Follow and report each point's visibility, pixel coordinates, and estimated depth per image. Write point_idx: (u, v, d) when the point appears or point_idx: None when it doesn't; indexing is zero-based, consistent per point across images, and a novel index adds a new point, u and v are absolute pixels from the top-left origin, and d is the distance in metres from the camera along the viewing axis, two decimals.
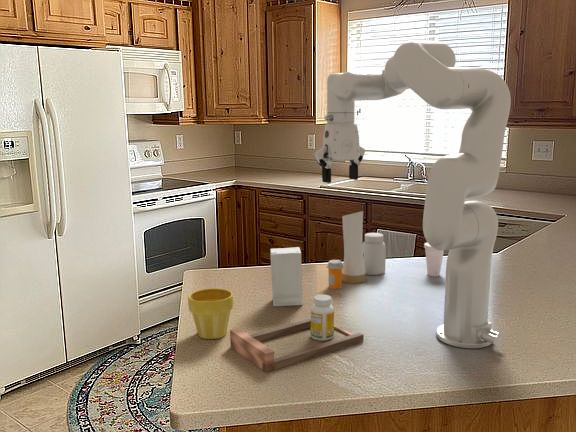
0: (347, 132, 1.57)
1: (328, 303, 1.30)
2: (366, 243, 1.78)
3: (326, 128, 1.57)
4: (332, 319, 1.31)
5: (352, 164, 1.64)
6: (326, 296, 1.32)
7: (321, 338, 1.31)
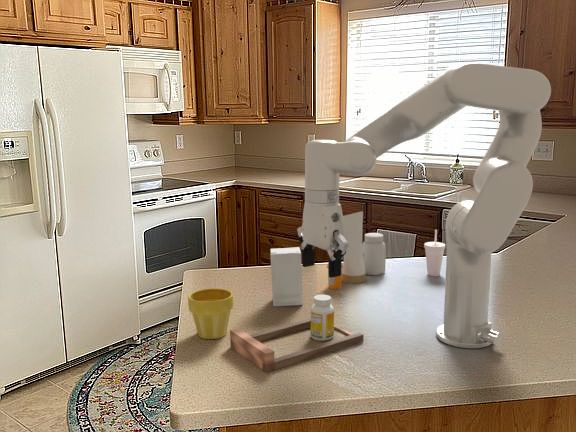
0: None
1: (328, 303, 1.30)
2: (366, 243, 1.78)
3: (332, 210, 1.23)
4: (332, 319, 1.31)
5: (308, 248, 1.33)
6: (326, 296, 1.32)
7: (321, 338, 1.31)
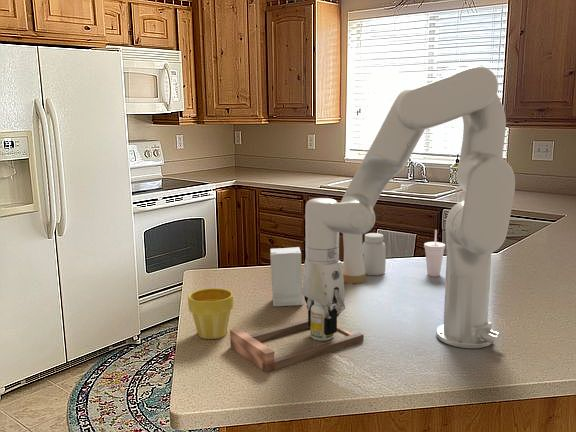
0: None
1: None
2: (366, 243, 1.78)
3: (332, 268, 1.26)
4: None
5: None
6: None
7: (321, 338, 1.31)
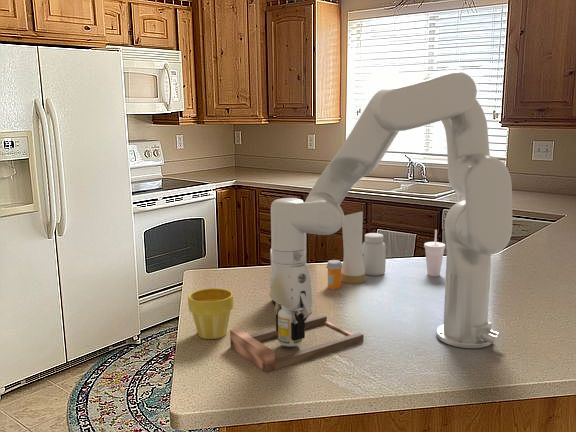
0: None
1: None
2: (366, 243, 1.78)
3: (299, 271, 1.21)
4: None
5: None
6: None
7: (288, 344, 1.25)
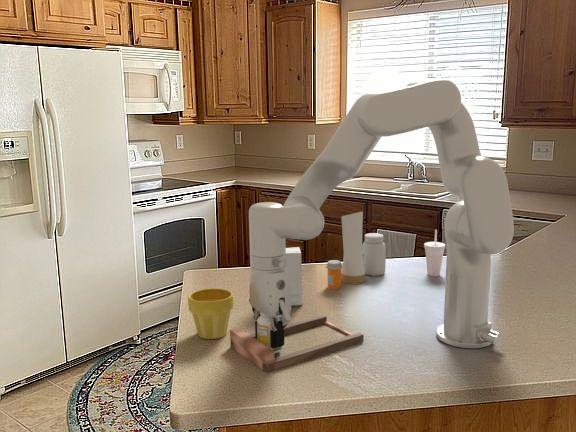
0: None
1: None
2: (366, 243, 1.78)
3: (277, 277, 1.18)
4: None
5: None
6: None
7: None
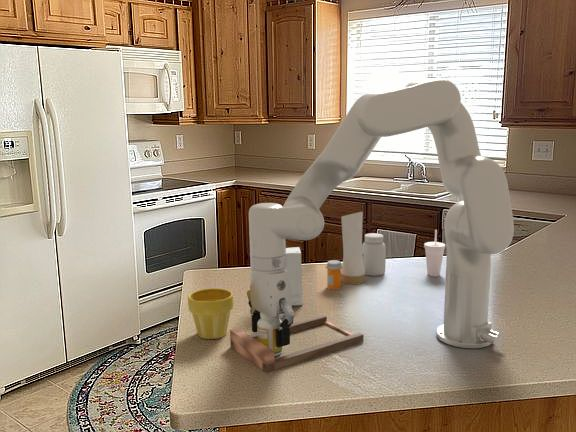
0: None
1: None
2: (366, 244, 1.78)
3: (278, 278, 1.18)
4: None
5: (257, 313, 1.28)
6: None
7: None
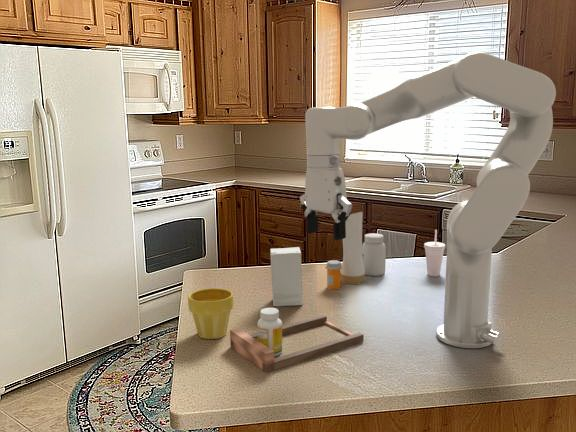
0: None
1: (275, 317, 1.22)
2: (366, 244, 1.78)
3: (335, 174, 1.27)
4: (279, 334, 1.23)
5: (311, 215, 1.37)
6: (273, 309, 1.24)
7: None
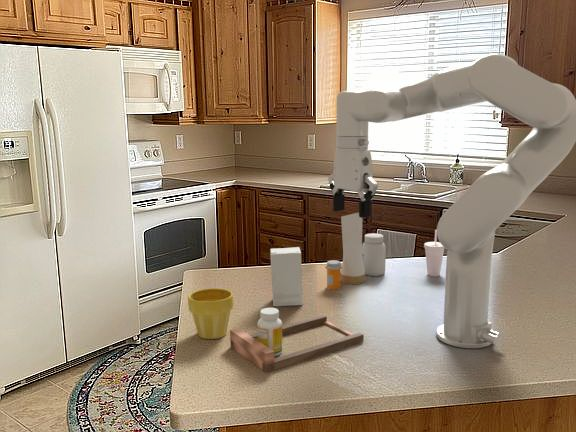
0: None
1: (275, 317, 1.22)
2: (366, 244, 1.78)
3: (362, 154, 1.34)
4: (280, 334, 1.23)
5: (338, 194, 1.44)
6: (274, 309, 1.24)
7: None
